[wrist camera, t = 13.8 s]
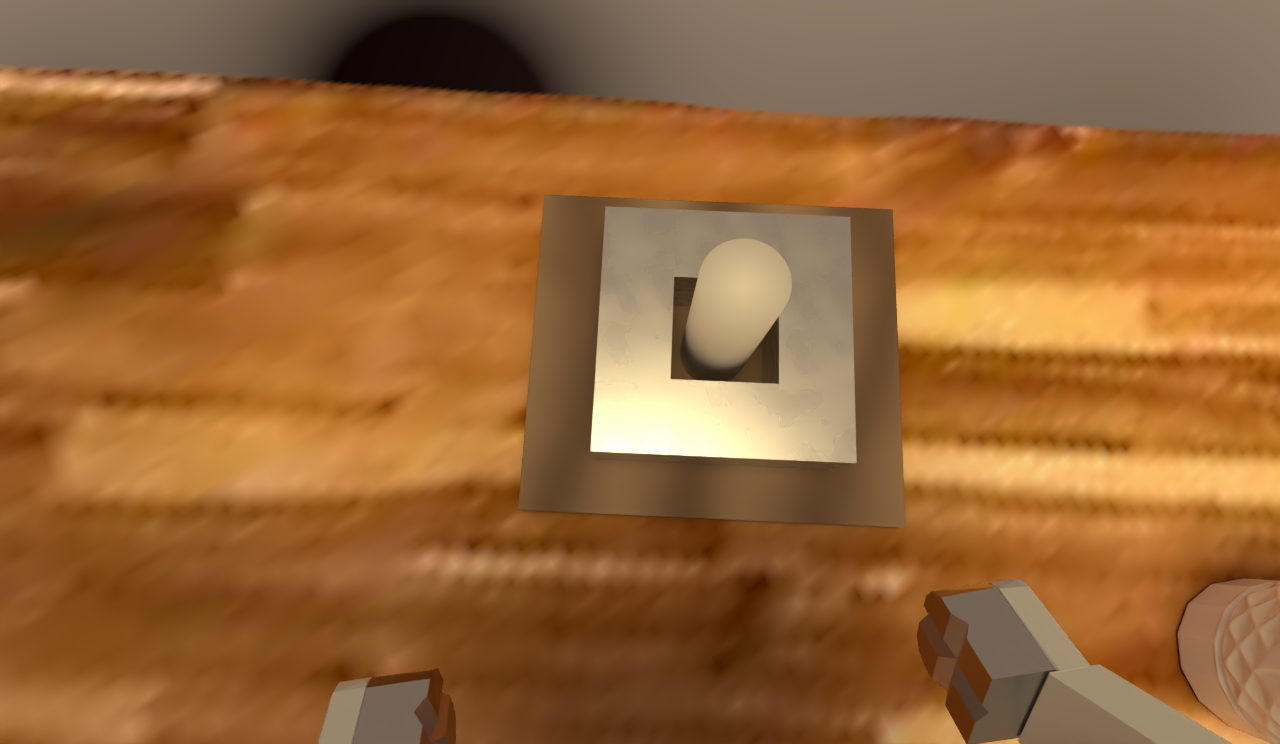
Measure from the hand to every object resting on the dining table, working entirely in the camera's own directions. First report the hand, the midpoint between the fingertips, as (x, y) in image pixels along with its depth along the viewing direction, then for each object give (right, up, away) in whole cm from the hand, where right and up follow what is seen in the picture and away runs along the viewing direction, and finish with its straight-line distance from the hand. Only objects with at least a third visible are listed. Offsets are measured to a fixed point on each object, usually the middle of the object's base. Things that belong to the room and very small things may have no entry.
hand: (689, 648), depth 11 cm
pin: (+3, +6, +21) cm, 22 cm away
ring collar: (+3, +5, +22) cm, 23 cm away
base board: (+3, +5, +22) cm, 23 cm away
